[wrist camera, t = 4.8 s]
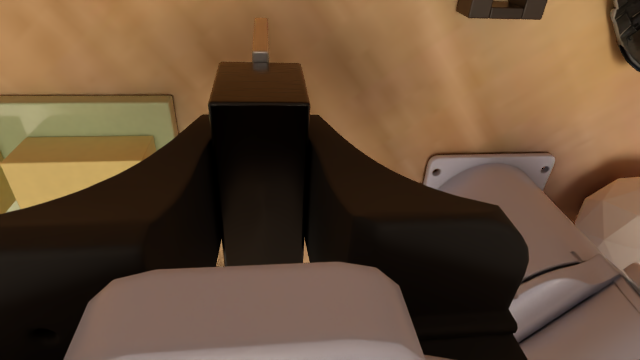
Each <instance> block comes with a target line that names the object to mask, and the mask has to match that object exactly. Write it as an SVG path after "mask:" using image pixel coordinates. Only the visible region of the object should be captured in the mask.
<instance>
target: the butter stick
mask: <svg viewBox="0 0 640 360" xmlns="http://www.w3.org/2000/svg"><path fill="white" fill-rule="evenodd" d="M154 152H156V147H155V142H154V137H153V136H86V137H26V138H25V139H24V140H23V141H22V142H21V143H20V144H19V145H18V146H17V147H16V148H15V149H14V150H13V151H12V152H11V153H10V154H9V155H8V156H7V157H6V158H5V159H4V160H3V161H2V162H1V163H0V165H1V167H2V169H3V172H4V174H5V176H6V178H7V180H8V183H9V185H10V187H11V189H12V191H13V194H14V196H15V198H16V200H17V202H18V205H19V207H20V209H23V208H27V207H31V206H34V205H38V204H41V203H45V202H48V201H51V200H54V199H57V198H60V197H63V196H66V195H69V194H72V193H75V192H77V191H80V190H83V189H85V188H88V187H90V186H92V185H94V184H97V183H99V182H101V181H104V180H106V179H108V178H111V177H113V176H115V175H117V174H119V173H121V172H123V171H125V170H127V169H128V168H130V167H132V166H134V165H136V164H137V163H139V162H141V161H143V160H144V159H146V158H147V157H149V156H150V155H152V154H153V153H154Z"/></svg>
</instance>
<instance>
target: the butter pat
mask: <svg viewBox="0 0 640 360" xmlns="http://www.w3.org/2000/svg"><path fill="white" fill-rule="evenodd" d="M3 160H4V158H3V156H2V154H1V152H0V163H1V162H2V161H3ZM15 201H16V198H15V196H14V194H13V191H12V189H11V187H10V185H9V183H8V180H7V178H6V176H5V174H4V172H3V169H2V167H1V165H0V214H3V213H6V212H7V210H8V209H9V208H10V207H11V206H12V204H13V203H14V202H15Z"/></svg>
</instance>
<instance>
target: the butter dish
mask: <svg viewBox="0 0 640 360" xmlns="http://www.w3.org/2000/svg"><path fill="white" fill-rule="evenodd" d="M177 135H178V129H177V123H176V117H175V111H174V105H173V99H172V96H0V152H1V154H2V156H3V158H4V159H5V158H6V157H7V156H8V155H9V154H10V153H11V152H12V151H13V150H14V149H15V148H16V147H17V146H18V145H19V144H20V143H21V142H22V141H23V140H24V139H25V138H26V137H86V136H153V137H154V142H155V147H156V151H157V150H159V149H160V148H162V147H163V146H164V145H166V144H167V143H169V142H170V141H171V140H172V139H174V138H175V137H176V136H177ZM19 209H20V207H19V205H18V202H17V200H16V201H15V202H14V203H13V204H12V206H11V207H10V208H9V209H8V210H7V212H11V211H15V210H19ZM7 212H6V213H7Z"/></svg>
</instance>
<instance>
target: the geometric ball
mask: <svg viewBox="0 0 640 360" xmlns="http://www.w3.org/2000/svg"><path fill="white" fill-rule="evenodd" d="M575 226H576V227H577V228H578V229H579V230H580V231H581V232H582V233H583V234H584V235H585V236H586V237H587V238H588V239H589V240H590V241H591V242H592V243H593V244H594V245H595V246H596V247H597V248H598V249H599V251H600V252H601V253H602V254H603V255H604V256H605V257H606V258H607V259H608V260H609V261H610V262H611V263H613V264H614V265H615V266H616V267H617V268H619V269H620V270H621V271H622V272H623V273H624V274H626V273H625V271H624V270H623V269H624V268H626V267H627V266H629V265H630V264H632V263H634V262H637V263H639V264H640V177H630V178H618V179H616V180H615V181H613V182H611V183H610V184H608V185H607V186H605V187H603V188H602V189H600V190H598V191H597V192H595V193H593V194H592V195H590V196H588V197H587V198H585V200H584V202H583V204H582V206H581V209H580V211H579V213H578V215H577V218H576V220H575ZM626 275H627V274H626ZM627 276H628V275H627Z"/></svg>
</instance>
